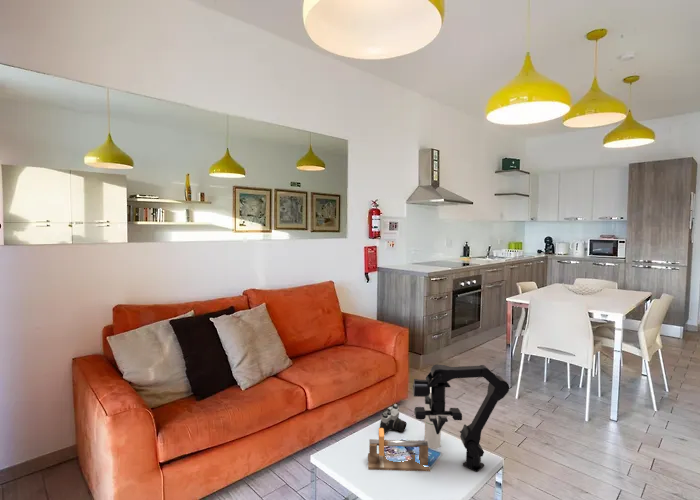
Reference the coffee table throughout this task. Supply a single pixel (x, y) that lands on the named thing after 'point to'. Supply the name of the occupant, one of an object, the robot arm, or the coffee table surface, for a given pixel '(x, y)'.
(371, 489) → the coffee table surface
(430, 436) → the cylindrical container
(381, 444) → the collar
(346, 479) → the coffee table surface
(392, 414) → the camera
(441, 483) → the coffee table surface
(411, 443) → the pipe
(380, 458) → the stand
